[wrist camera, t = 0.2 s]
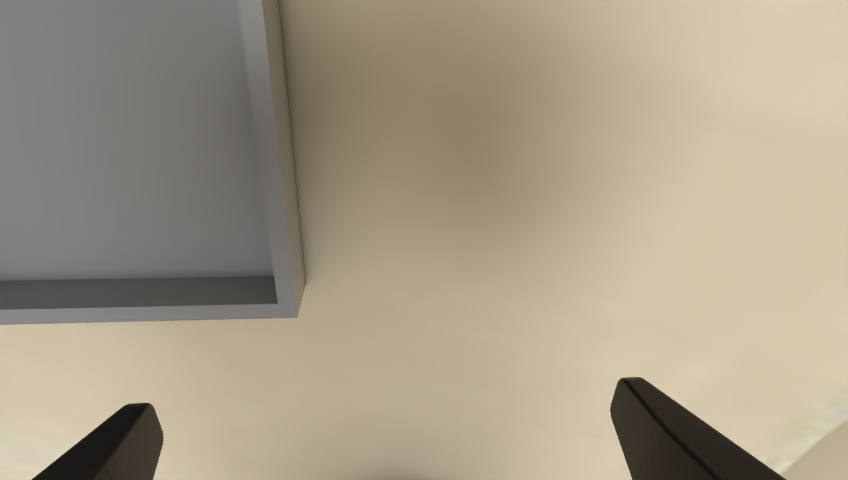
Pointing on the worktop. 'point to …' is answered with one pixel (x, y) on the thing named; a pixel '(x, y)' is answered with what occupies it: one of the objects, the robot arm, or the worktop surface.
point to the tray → (146, 163)
